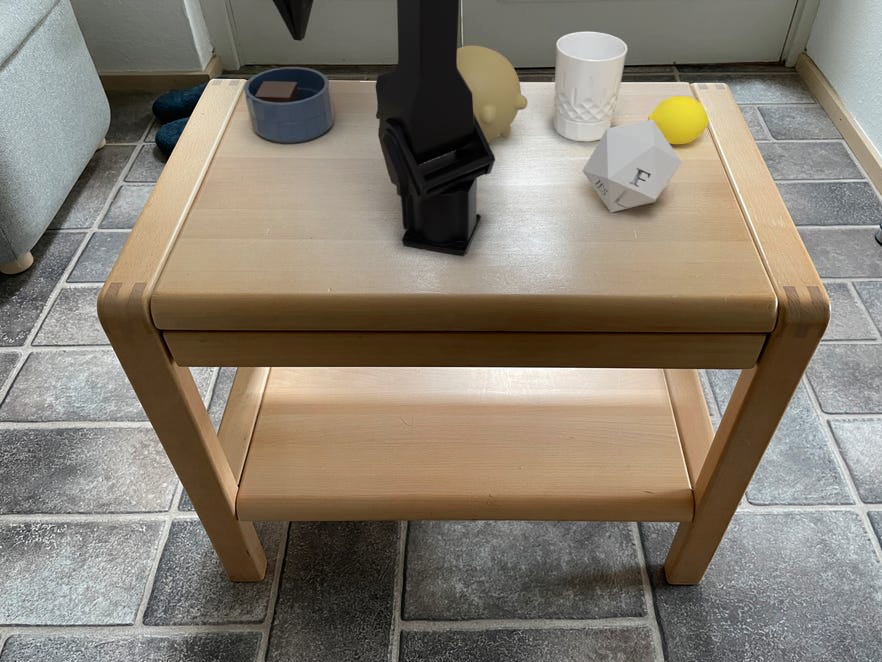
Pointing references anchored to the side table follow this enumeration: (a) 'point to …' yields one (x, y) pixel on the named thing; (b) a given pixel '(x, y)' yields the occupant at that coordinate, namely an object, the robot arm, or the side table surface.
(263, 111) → the bowl
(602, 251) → the side table surface
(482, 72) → the toy pig
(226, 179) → the side table surface
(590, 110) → the white cup
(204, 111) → the side table surface
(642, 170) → the die
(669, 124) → the lemon
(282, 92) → the block
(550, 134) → the side table surface
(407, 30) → the robot arm
